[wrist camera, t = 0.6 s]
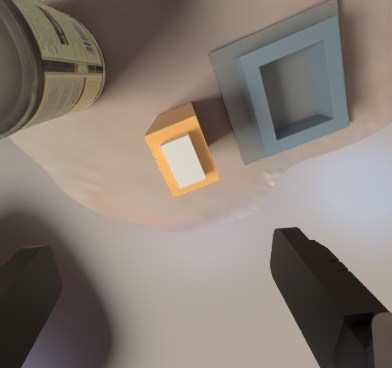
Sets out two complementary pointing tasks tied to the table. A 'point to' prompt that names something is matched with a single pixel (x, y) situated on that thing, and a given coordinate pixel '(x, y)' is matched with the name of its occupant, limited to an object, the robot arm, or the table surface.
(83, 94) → the coffee can
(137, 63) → the table surface
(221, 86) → the holder
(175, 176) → the connector plug
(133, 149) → the table surface
